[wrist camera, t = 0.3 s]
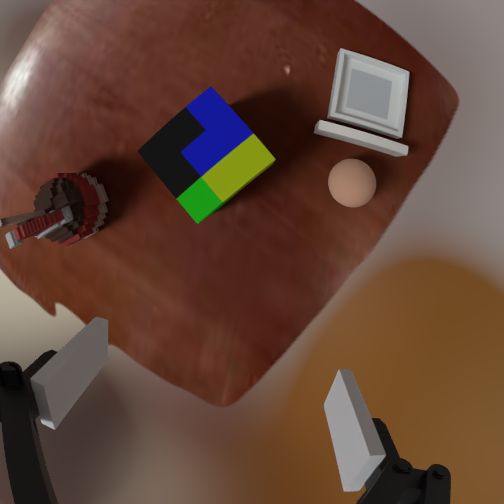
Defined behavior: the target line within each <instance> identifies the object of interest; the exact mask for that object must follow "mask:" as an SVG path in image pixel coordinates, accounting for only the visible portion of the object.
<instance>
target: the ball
mask: <svg viewBox="0 0 504 504" xmlns="http://www.w3.org/2000/svg"><path fill="white" fill-rule="evenodd" d="M328 185H329V190H330V192H331V194H332V196H333V197H334V199H335V200H336V201H337V202H339V203H340V204H342V205H344V206H347V207H359V206H362V205H364V204H366V203H367V202H368V201H369V200H370V199H371V198H372V197H373V195H374V193H375V189H376V178H375V175H374V173H373V171H372V169H371V168H370V167H369V166H368V165H367V164H366V163H364V162H362V161H360V160H358V159H345V160H342V161H340V162H339V163H337V164H336V165H335V166H334V167H333V168H332V170H331V172H330V174H329V179H328Z"/></svg>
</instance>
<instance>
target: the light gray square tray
mask: <svg viewBox="0 0 504 504" xmlns="http://www.w3.org/2000/svg"><path fill="white" fill-rule="evenodd" d="M408 82H409V71H406V70H404V69H401V68H399V67H396V66H393V65H391V64H388V63H385V62H382V61H379V60H377V59H374V58H371V57H368V56H365V55H361V54H358V53H355V52H352V51H348V50H345V49H340V50H339V52H338V55H337V62H336V68H335V75H334V81H333V87H332V93H331V99H330V105H329V111H328V116H327V118H328V119H332V120H336V121H339V122H343V123H347V124H350V125H354V126H357V127H361V128H364V129H367V130H371V131H374V132H377V133H380V134H383V135H386V136H389V137H392V138H395V139H398V138H402V134H403V127H404V119H405V111H406V102H407V93H408Z"/></svg>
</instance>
